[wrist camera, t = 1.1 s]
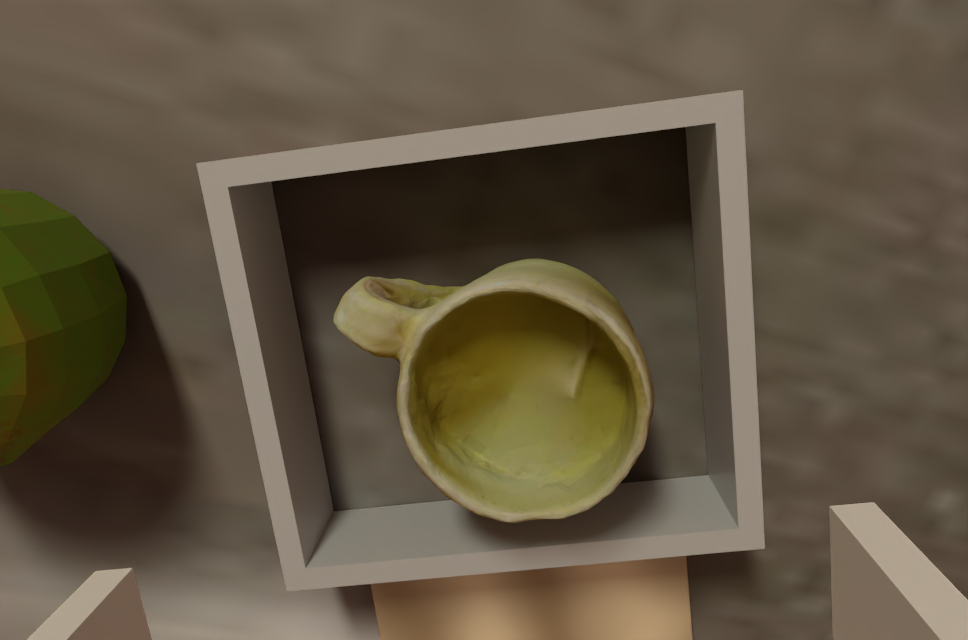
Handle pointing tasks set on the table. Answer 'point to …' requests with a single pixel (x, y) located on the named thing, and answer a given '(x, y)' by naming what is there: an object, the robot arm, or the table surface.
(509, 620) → the board
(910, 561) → the robot arm
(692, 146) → the tub
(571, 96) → the table surface
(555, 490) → the mug
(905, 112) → the table surface
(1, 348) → the apple
